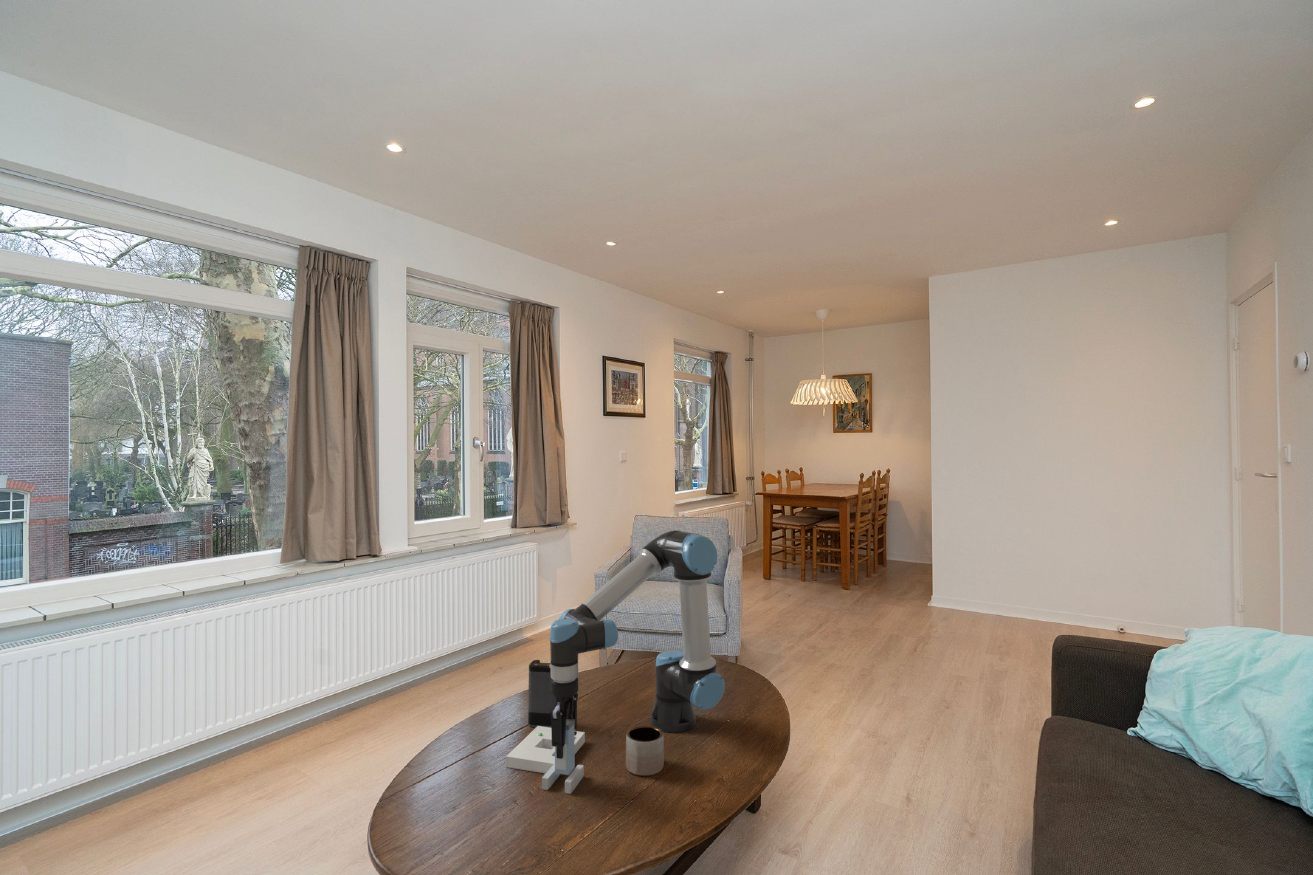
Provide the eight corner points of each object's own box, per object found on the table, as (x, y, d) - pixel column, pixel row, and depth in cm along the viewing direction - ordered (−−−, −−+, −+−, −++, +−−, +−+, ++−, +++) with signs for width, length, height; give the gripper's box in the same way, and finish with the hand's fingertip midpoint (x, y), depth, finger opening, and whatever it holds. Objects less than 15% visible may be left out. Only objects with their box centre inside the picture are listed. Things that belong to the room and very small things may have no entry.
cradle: (583, 776, 167) (583, 765, 168) (570, 793, 159) (570, 782, 159) (556, 771, 170) (556, 760, 170) (541, 788, 161) (541, 777, 161)
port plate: (584, 742, 187) (585, 730, 187) (557, 775, 168) (557, 762, 168) (537, 735, 191) (537, 724, 192) (506, 766, 172) (506, 754, 172)
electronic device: (559, 720, 202) (560, 660, 203) (554, 728, 196) (555, 666, 197) (532, 719, 203) (533, 659, 204) (526, 727, 197) (527, 665, 198)
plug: (575, 767, 166) (574, 718, 166) (568, 775, 162) (568, 725, 162) (560, 765, 167) (560, 717, 167) (554, 773, 163) (554, 724, 163)
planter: (668, 761, 176) (668, 728, 176) (656, 780, 166) (656, 745, 166) (633, 754, 180) (634, 722, 180) (619, 773, 169) (620, 738, 170)
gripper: (564, 665, 174) (564, 747, 174) (537, 688, 158) (538, 778, 157) (588, 668, 172) (589, 750, 172) (564, 691, 156) (564, 782, 155)
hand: (564, 763), depth 165 cm, fingers closed on plug, 4 cm apart
